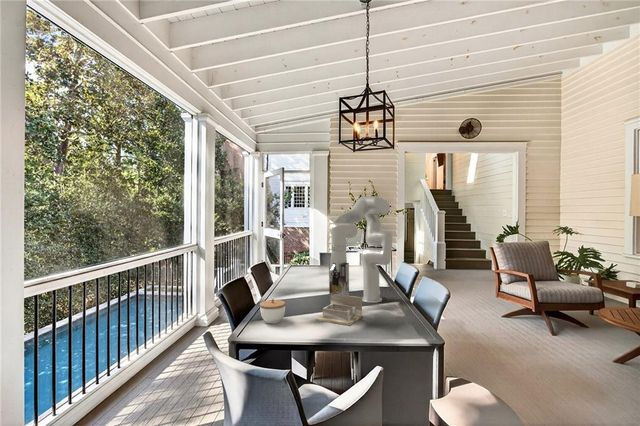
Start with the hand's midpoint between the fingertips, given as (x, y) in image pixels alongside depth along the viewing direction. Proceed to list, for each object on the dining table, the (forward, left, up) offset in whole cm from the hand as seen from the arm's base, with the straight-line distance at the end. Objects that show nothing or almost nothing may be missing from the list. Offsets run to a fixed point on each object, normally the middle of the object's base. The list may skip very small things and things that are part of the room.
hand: (339, 283), depth 183 cm
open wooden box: (0, 0, -18) cm, 18 cm away
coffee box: (0, 0, -6) cm, 6 cm away
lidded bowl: (+20, -27, -18) cm, 38 cm away
